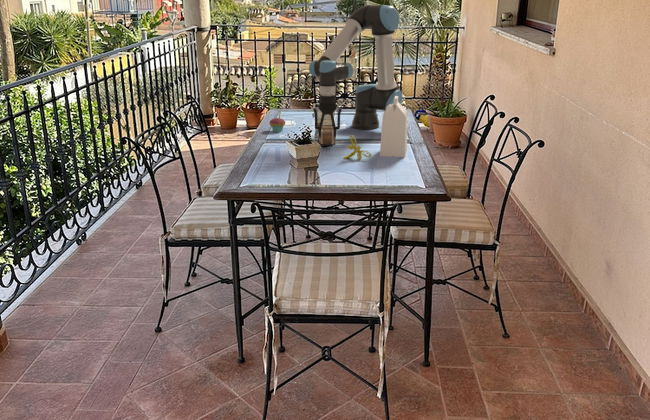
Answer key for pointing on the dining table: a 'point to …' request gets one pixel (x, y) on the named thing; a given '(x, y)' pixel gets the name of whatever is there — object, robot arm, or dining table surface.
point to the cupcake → (277, 123)
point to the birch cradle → (327, 129)
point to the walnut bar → (327, 136)
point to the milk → (394, 130)
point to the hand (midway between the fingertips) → (327, 143)
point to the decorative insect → (356, 150)
